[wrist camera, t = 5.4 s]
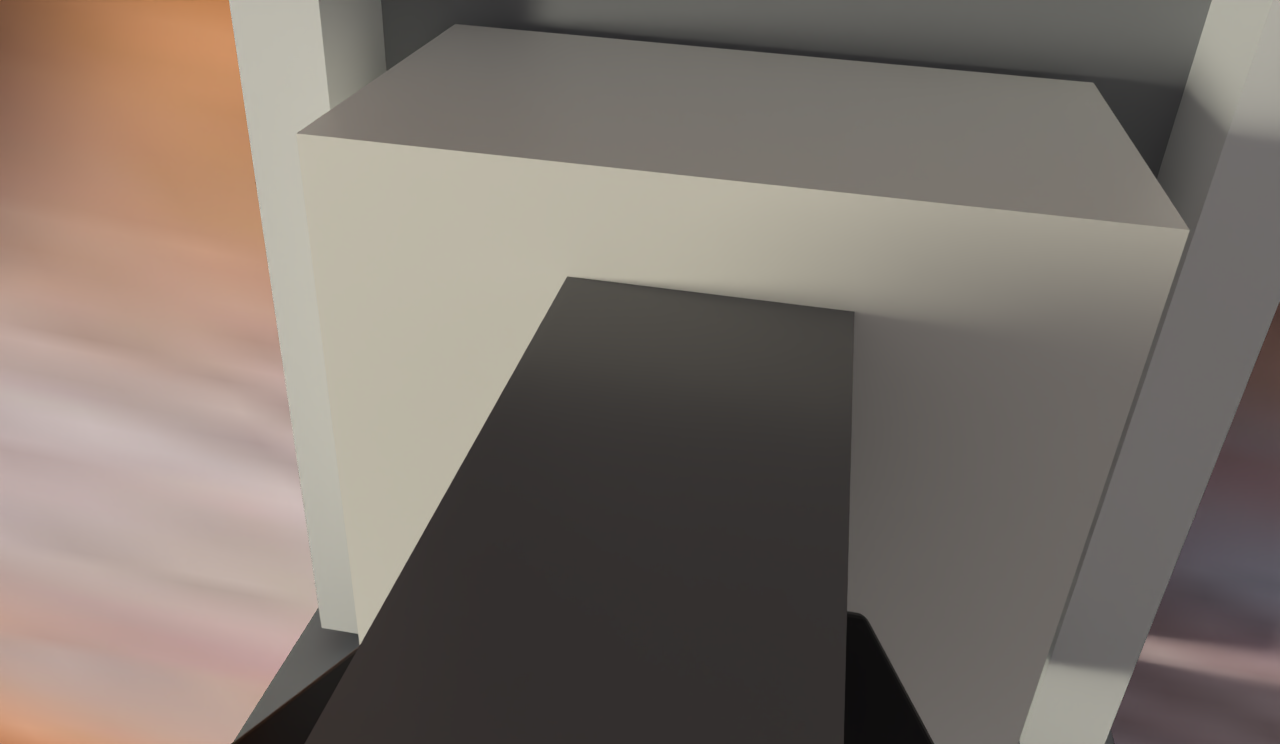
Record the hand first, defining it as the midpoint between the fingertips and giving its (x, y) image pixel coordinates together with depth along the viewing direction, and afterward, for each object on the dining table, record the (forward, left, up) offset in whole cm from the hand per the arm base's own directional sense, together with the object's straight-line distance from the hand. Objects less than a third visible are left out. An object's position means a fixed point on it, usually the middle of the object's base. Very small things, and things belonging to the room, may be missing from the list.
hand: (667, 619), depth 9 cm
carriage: (0, 0, -5) cm, 5 cm away
